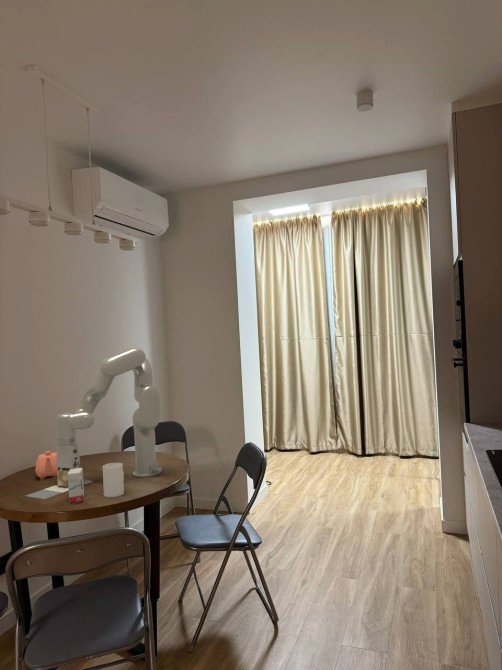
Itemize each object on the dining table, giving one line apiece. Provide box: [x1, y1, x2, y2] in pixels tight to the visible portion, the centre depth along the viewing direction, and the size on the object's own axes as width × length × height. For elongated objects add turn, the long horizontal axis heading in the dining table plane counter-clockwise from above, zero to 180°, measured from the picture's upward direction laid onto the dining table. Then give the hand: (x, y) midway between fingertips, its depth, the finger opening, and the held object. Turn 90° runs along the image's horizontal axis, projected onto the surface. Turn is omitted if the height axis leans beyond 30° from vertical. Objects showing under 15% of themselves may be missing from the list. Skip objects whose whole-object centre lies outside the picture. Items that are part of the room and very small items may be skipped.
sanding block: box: [56, 468, 70, 488], centre depth 209 cm, size 5×7×7 cm
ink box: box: [68, 467, 85, 505], centre depth 191 cm, size 9×5×12 cm, turn 13°
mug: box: [102, 462, 125, 498], centre depth 198 cm, size 8×12×12 cm
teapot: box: [35, 450, 59, 481], centre depth 229 cm, size 20×12×12 cm, turn 22°
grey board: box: [25, 479, 94, 500], centre depth 205 cm, size 12×26×1 cm, turn 152°
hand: (68, 482), depth 209 cm, fingers closed on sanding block, 5 cm apart
